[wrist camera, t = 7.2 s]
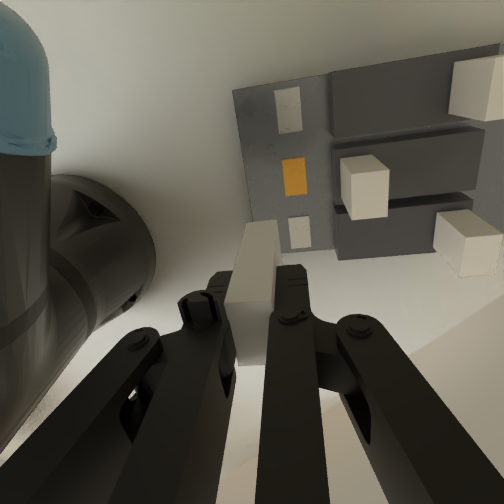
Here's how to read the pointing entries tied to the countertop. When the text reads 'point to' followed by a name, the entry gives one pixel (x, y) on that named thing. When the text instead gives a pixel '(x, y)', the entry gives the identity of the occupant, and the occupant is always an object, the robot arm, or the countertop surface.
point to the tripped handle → (364, 187)
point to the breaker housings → (420, 155)
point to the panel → (327, 160)
